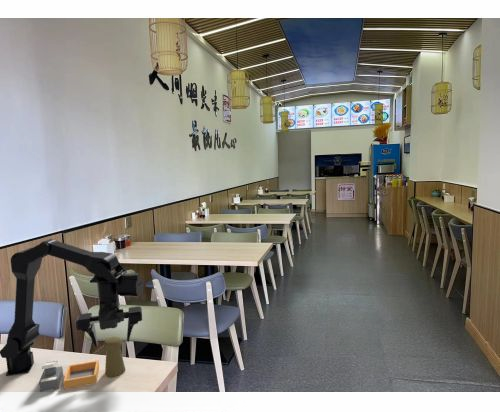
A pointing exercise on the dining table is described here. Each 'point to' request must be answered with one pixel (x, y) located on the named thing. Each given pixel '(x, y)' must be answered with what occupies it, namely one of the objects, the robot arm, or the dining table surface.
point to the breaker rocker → (50, 365)
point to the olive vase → (114, 357)
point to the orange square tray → (81, 374)
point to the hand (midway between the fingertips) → (112, 343)
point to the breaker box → (51, 378)
